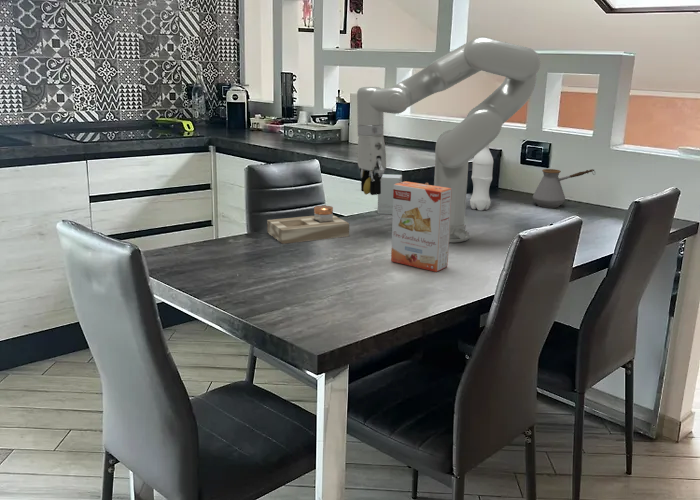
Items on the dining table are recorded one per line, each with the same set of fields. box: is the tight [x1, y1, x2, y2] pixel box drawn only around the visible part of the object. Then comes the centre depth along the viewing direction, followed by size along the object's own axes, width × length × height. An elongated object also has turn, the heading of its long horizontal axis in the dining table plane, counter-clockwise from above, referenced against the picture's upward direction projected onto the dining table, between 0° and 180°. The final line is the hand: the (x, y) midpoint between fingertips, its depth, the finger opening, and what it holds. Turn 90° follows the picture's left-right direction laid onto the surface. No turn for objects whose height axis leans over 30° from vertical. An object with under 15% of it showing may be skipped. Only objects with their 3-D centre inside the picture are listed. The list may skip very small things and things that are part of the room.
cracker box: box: [390, 181, 452, 273], centre depth 173 cm, size 14×6×21 cm, turn 53°
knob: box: [363, 176, 372, 195], centre depth 201 cm, size 5×5×5 cm
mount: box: [266, 214, 350, 245], centre depth 203 cm, size 13×21×4 cm, turn 116°
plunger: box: [313, 204, 334, 223], centre depth 204 cm, size 6×6×4 cm
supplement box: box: [376, 173, 403, 216], centre depth 232 cm, size 7×7×13 cm
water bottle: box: [469, 144, 494, 211], centre depth 237 cm, size 7×7×25 cm
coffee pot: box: [532, 168, 596, 209], centre depth 242 cm, size 21×12×15 cm, turn 51°
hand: (370, 192), depth 202 cm, fingers closed on knob, 5 cm apart
